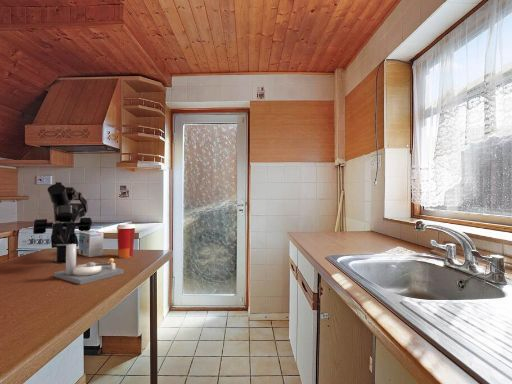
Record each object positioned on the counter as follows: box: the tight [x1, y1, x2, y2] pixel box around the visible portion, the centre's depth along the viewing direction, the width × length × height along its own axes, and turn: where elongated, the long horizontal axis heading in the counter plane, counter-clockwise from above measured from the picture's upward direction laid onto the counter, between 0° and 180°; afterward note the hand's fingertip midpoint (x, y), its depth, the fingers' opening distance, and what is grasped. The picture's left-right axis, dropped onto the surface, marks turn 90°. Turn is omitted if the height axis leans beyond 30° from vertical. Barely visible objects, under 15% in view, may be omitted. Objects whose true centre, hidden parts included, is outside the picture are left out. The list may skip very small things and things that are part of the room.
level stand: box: [53, 257, 125, 285], centre depth 107 cm, size 16×16×5 cm
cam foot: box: [65, 244, 111, 276], centre depth 105 cm, size 14×9×10 cm, turn 116°
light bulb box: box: [78, 229, 104, 258], centre depth 141 cm, size 11×7×11 cm, turn 54°
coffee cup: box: [116, 223, 137, 259], centre depth 137 cm, size 8×8×15 cm
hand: (65, 242), depth 110 cm, fingers closed
